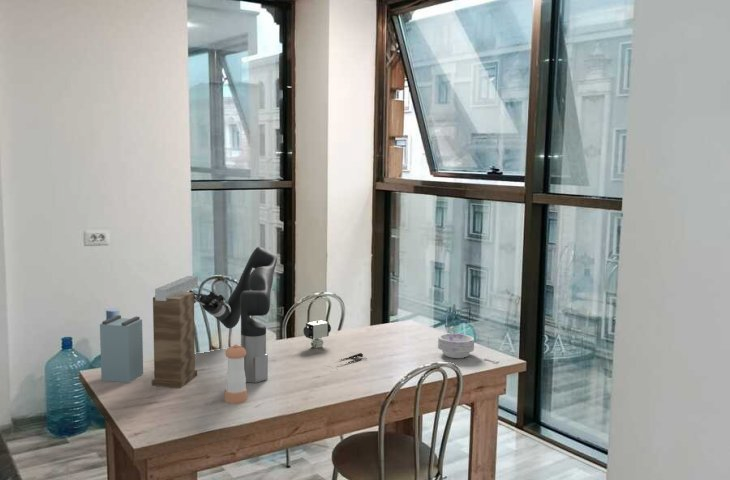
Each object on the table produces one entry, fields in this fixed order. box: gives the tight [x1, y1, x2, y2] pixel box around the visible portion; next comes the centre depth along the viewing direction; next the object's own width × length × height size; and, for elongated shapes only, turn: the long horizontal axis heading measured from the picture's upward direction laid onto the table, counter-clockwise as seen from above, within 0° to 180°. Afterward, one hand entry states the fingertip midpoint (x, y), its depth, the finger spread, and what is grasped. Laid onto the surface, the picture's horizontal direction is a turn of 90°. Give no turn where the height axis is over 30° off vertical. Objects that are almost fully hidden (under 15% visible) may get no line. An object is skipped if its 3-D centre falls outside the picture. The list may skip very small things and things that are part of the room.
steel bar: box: [154, 275, 199, 301], centre depth 242 cm, size 26×4×4 cm, turn 170°
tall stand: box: [151, 291, 198, 389], centre depth 241 cm, size 14×11×32 cm
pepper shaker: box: [224, 344, 248, 404], centre depth 224 cm, size 7×7×19 cm
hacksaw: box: [340, 352, 368, 364], centre depth 268 cm, size 24×10×2 cm, turn 133°
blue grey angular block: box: [99, 314, 144, 384], centre depth 244 cm, size 10×11×22 cm
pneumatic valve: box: [302, 319, 332, 349], centre depth 289 cm, size 6×12×12 cm, turn 130°
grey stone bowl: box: [437, 333, 475, 359], centre depth 281 cm, size 15×15×8 cm
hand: (200, 293), depth 262 cm, fingers open, 8 cm apart
